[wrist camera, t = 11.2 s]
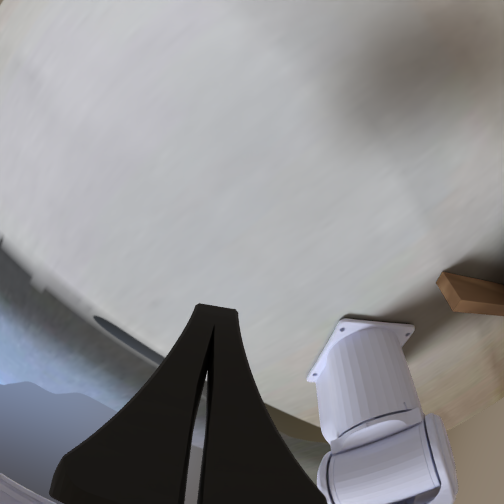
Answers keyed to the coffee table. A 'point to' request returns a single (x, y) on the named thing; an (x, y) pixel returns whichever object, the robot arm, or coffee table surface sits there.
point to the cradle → (472, 294)
